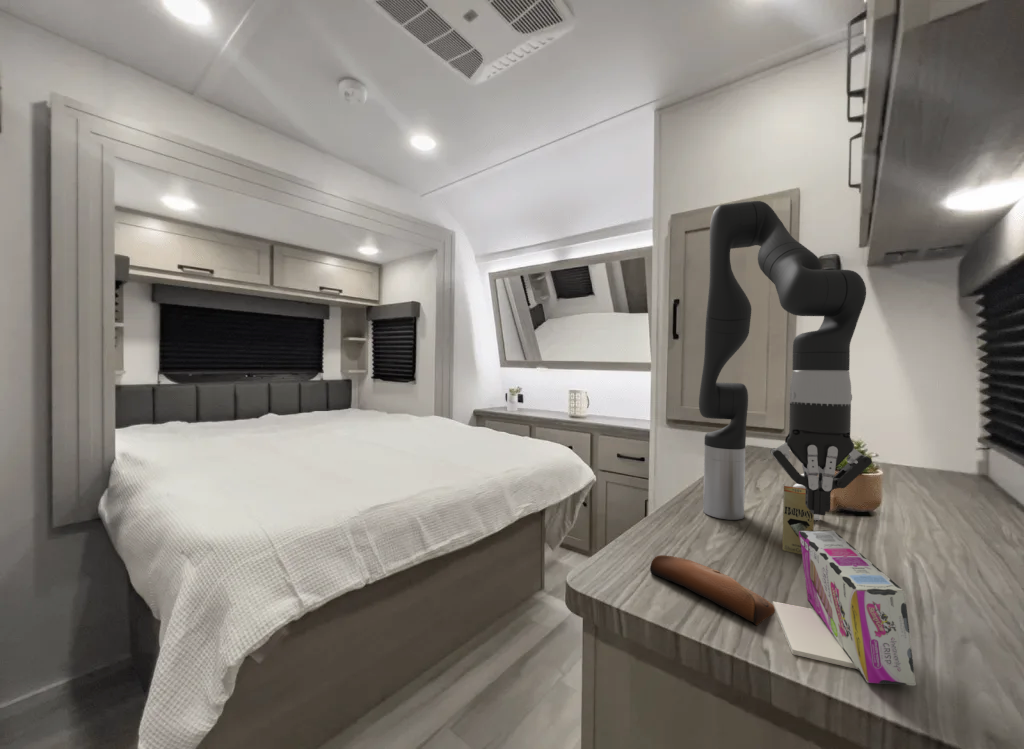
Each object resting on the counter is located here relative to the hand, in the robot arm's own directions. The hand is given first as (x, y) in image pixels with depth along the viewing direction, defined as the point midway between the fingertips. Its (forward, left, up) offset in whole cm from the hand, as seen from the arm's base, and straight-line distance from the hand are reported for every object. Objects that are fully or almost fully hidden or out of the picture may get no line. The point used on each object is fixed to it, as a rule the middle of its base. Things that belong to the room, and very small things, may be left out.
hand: (817, 513), depth 63 cm
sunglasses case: (+1, -15, -15) cm, 21 cm away
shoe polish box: (-24, +3, -15) cm, 28 cm away
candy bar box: (+1, 0, -8) cm, 8 cm away
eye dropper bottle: (-47, +10, -15) cm, 50 cm away
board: (+8, 0, -14) cm, 17 cm away
